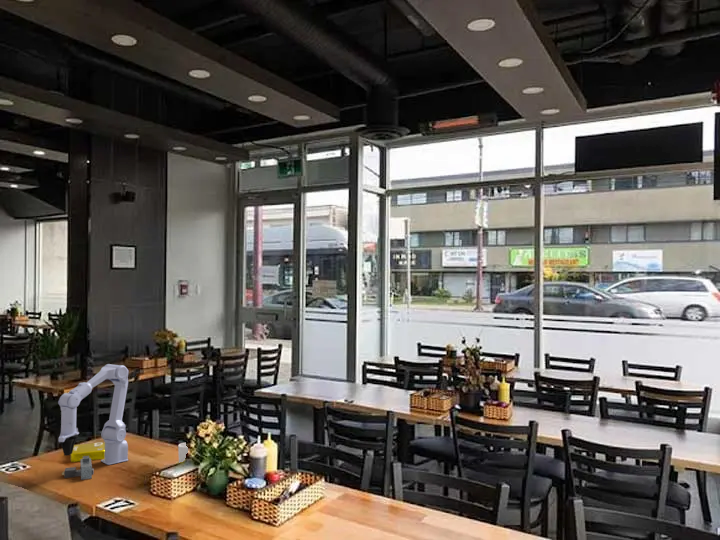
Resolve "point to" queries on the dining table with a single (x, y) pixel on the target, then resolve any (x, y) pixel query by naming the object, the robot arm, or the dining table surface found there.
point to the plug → (73, 472)
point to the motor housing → (86, 468)
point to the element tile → (88, 451)
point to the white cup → (182, 451)
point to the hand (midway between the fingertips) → (68, 454)
